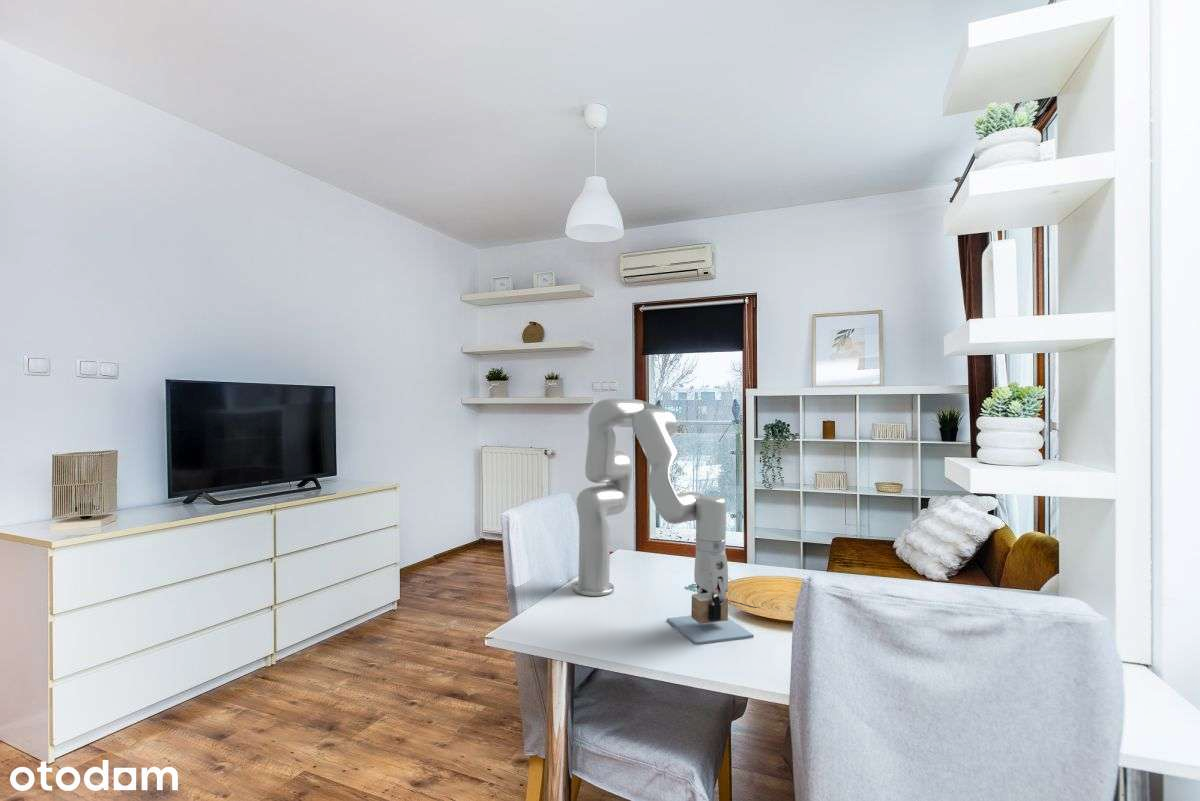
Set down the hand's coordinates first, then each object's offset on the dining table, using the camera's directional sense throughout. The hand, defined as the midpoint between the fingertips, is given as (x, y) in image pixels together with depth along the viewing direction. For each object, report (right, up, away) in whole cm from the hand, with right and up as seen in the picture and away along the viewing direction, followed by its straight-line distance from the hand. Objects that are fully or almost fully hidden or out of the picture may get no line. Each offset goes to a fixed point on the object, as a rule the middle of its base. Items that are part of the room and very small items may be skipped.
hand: (709, 615), depth 148 cm
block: (0, -1, 0) cm, 1 cm away
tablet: (+14, -4, +31) cm, 34 cm away
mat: (0, -3, 0) cm, 3 cm away
